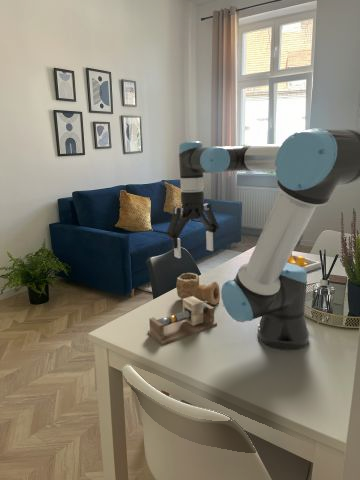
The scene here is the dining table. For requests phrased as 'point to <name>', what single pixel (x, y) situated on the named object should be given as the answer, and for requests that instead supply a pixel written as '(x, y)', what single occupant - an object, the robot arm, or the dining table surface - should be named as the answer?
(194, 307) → the collar
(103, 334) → the dining table surface
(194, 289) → the pipe
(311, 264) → the parts corral
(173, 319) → the rod
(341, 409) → the dining table surface
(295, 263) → the pipe clamp
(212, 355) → the dining table surface
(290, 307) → the robot arm
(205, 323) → the cradle
